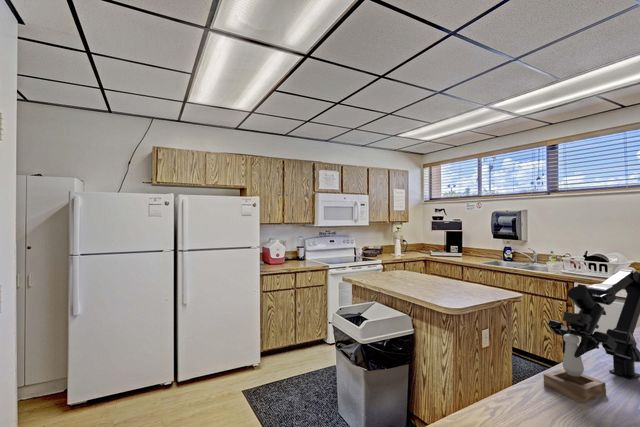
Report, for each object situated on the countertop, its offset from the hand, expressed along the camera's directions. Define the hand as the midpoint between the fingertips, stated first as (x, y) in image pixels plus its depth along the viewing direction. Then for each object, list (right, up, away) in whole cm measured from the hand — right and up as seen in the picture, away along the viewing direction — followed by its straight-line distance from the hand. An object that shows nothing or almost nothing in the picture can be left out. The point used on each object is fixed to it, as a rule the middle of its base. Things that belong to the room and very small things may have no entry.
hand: (569, 355), depth 109 cm
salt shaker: (+2, -7, 0) cm, 7 cm away
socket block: (+2, -12, 0) cm, 12 cm away
